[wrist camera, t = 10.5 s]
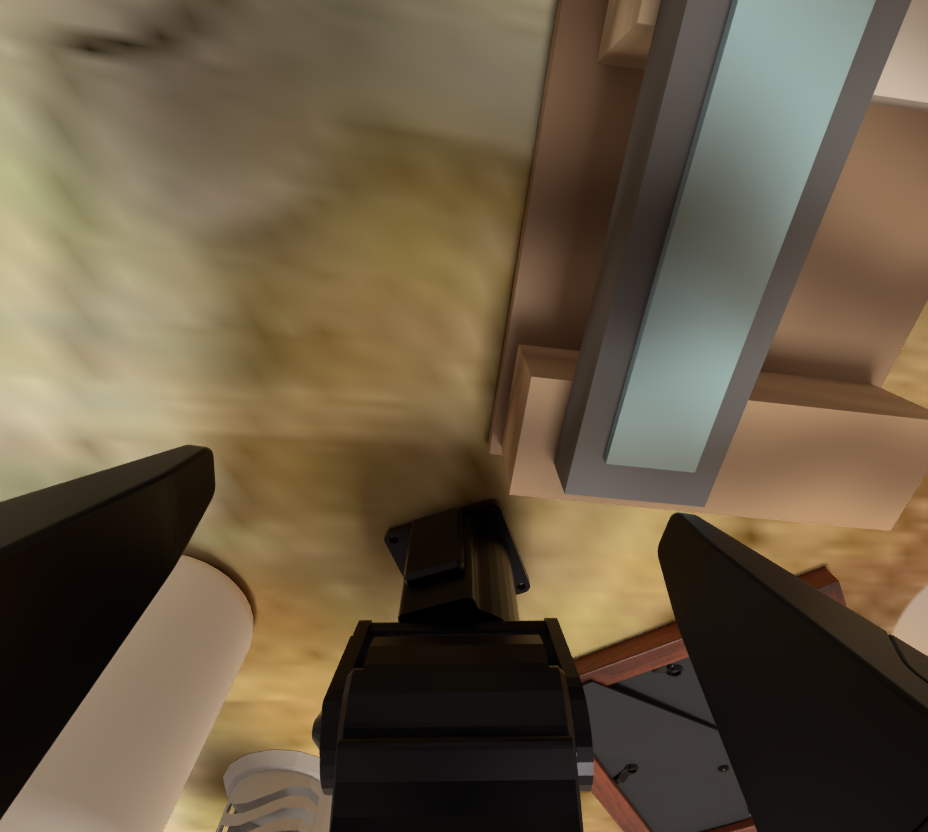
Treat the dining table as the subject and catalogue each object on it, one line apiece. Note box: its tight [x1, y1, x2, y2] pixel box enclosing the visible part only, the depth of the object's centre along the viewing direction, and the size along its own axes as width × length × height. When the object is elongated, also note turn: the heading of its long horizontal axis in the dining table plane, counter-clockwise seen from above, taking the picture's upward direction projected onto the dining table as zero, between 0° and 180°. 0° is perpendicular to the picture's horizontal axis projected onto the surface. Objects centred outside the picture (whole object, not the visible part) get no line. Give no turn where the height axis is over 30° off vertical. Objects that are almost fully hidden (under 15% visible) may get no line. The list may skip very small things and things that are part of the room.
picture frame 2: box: [573, 567, 846, 832], centre depth 33 cm, size 20×2×25 cm
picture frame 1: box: [554, 0, 912, 507], centre depth 14 cm, size 16×5×2 cm, turn 173°
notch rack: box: [488, 0, 928, 531], centre depth 17 cm, size 21×17×5 cm
